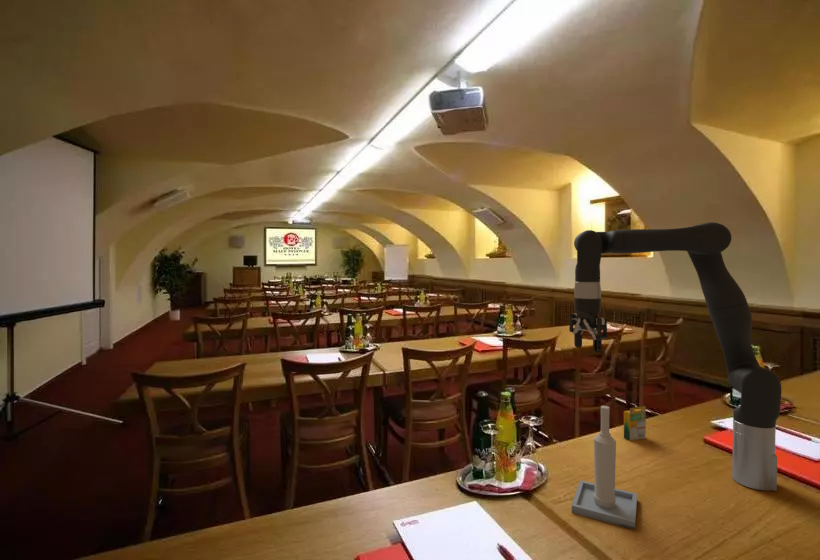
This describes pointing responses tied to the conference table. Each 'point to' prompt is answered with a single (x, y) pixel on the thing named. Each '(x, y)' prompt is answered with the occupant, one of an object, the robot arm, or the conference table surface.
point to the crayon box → (635, 423)
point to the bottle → (604, 463)
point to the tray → (617, 515)
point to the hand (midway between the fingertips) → (587, 349)
